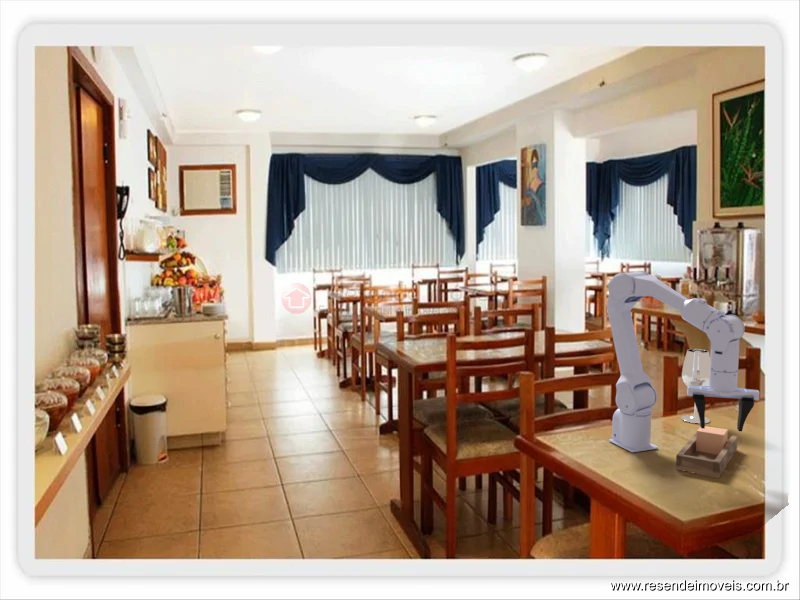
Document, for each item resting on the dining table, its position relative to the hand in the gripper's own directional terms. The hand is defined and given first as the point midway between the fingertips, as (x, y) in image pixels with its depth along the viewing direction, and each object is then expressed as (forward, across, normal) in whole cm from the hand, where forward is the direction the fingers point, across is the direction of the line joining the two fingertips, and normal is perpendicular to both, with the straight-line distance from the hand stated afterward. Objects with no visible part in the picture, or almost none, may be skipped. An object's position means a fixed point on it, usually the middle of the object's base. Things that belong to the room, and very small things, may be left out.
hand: (720, 428), depth 152 cm
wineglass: (+10, -1, +40) cm, 41 cm away
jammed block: (+9, 0, +10) cm, 14 cm away
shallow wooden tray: (+10, -2, +7) cm, 12 cm away
